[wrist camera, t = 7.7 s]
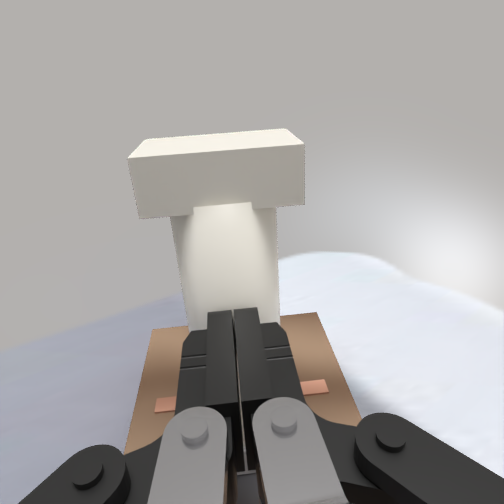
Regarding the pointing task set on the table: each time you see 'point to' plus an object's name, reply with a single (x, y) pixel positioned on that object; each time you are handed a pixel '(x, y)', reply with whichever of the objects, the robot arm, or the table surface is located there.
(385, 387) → the table surface
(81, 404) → the table surface
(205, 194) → the fader
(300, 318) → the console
